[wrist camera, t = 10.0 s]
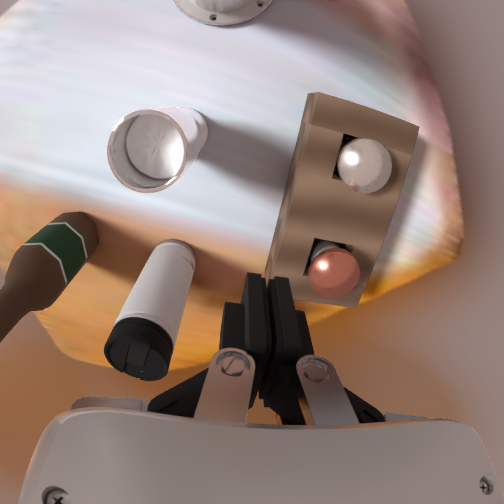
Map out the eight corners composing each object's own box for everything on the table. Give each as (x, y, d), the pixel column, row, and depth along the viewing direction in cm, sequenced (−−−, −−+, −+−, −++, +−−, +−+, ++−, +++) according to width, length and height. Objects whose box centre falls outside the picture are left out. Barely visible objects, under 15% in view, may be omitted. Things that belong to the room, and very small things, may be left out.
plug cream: (328, 125, 35) (348, 132, 28) (369, 137, 36) (398, 148, 29) (316, 168, 38) (333, 186, 30) (358, 179, 38) (382, 199, 31)
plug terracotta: (305, 219, 40) (318, 248, 32) (346, 228, 40) (367, 257, 33) (294, 258, 42) (304, 293, 35) (333, 265, 43) (349, 300, 35)
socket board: (307, 93, 34) (318, 92, 28) (396, 121, 35) (419, 126, 30) (264, 270, 44) (267, 295, 39) (344, 283, 46) (356, 307, 40)
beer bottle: (104, 218, 40) (4, 331, 19) (96, 265, 44) (16, 385, 22) (59, 202, 39) (-55, 294, 17) (54, 248, 42) (-39, 351, 21)
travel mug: (203, 246, 42) (176, 354, 25) (188, 285, 45) (159, 396, 27) (160, 229, 41) (105, 327, 23) (147, 269, 44) (97, 373, 26)
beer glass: (180, 92, 33) (140, 88, 20) (224, 129, 36) (210, 146, 22) (144, 136, 36) (89, 159, 22) (185, 171, 38) (153, 213, 24)
